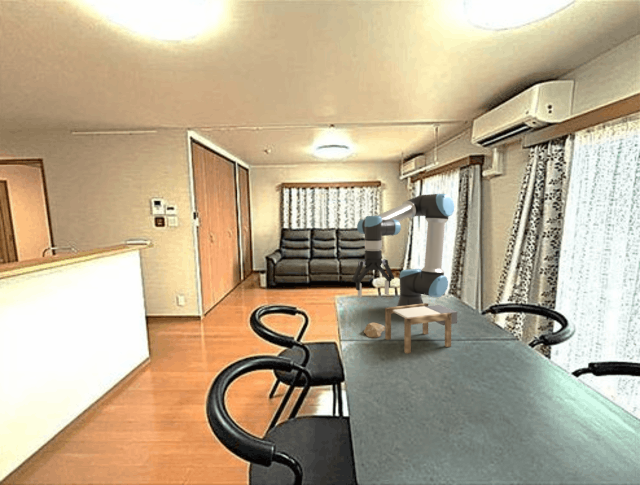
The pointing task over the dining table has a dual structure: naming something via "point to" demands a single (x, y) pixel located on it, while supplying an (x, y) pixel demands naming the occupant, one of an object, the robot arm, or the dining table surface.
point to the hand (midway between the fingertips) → (373, 295)
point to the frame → (417, 320)
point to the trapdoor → (427, 312)
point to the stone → (374, 330)
